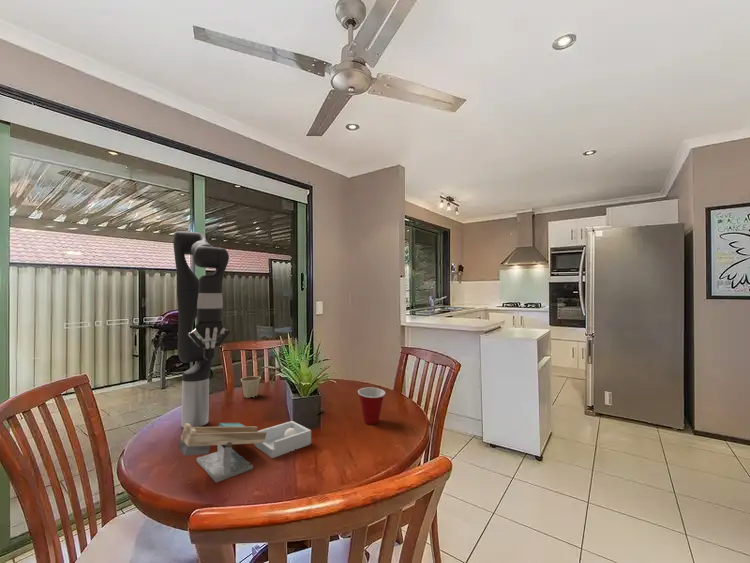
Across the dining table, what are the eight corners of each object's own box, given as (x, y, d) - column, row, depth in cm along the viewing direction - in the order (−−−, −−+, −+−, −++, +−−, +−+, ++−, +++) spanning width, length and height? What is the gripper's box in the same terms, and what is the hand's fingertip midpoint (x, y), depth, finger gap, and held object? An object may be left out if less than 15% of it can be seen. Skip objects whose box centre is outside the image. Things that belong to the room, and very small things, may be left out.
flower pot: (236, 398, 162) (236, 380, 162) (246, 393, 171) (247, 375, 172) (254, 399, 160) (254, 381, 161) (264, 393, 170) (264, 376, 170)
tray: (254, 445, 111) (254, 431, 111) (292, 433, 121) (292, 420, 121) (271, 458, 103) (272, 443, 103) (311, 444, 112) (311, 430, 113)
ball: (292, 425, 117) (292, 437, 117) (282, 428, 114) (281, 440, 114) (299, 428, 114) (298, 440, 114) (288, 431, 111) (288, 444, 111)
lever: (166, 434, 102) (173, 412, 103) (236, 433, 117) (241, 413, 118) (185, 456, 88) (193, 431, 89) (263, 451, 103) (268, 429, 104)
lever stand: (196, 461, 101) (196, 440, 101) (230, 450, 108) (230, 431, 108) (216, 482, 89) (216, 459, 90) (252, 469, 96) (252, 447, 97)
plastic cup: (370, 429, 124) (369, 396, 125) (352, 421, 132) (352, 390, 133) (391, 422, 131) (391, 391, 132) (373, 415, 140) (373, 385, 140)
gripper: (225, 306, 119) (224, 355, 118) (184, 306, 110) (182, 360, 109) (234, 307, 114) (233, 358, 113) (191, 307, 104) (190, 364, 104)
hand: (208, 359), depth 111 cm, fingers closed
